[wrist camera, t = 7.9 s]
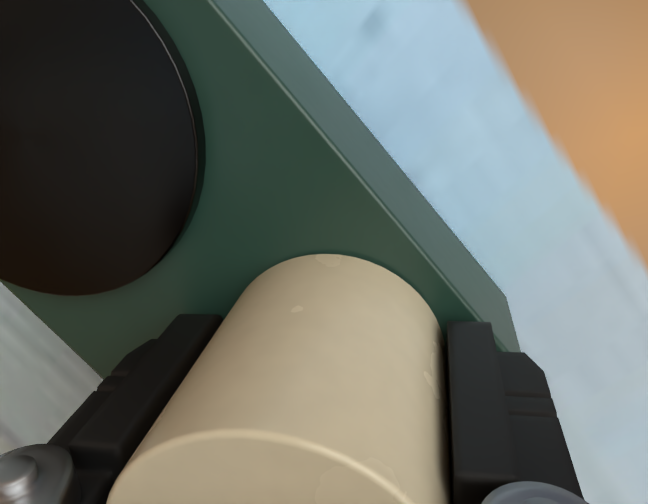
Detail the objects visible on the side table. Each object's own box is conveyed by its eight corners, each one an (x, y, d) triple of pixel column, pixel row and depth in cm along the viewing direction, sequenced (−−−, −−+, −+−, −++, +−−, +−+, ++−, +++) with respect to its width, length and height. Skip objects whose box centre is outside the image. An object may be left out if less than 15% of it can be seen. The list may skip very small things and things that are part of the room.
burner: (178, 328, 11) (169, 338, 10) (-107, 231, 11) (-126, 239, 11) (239, -6, 8) (230, -6, 8) (-134, -118, 8) (-159, -125, 8)
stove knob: (341, 205, 9) (258, 382, 5) (492, 373, 10) (542, 661, 5) (187, 333, 11) (18, 555, 6) (327, 469, 11) (264, 755, 7)
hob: (507, 297, 12) (529, 377, 10) (285, 433, 15) (254, 525, 12) (122, -172, 10) (9, -242, 7) (-59, 84, 13) (-191, 102, 10)
